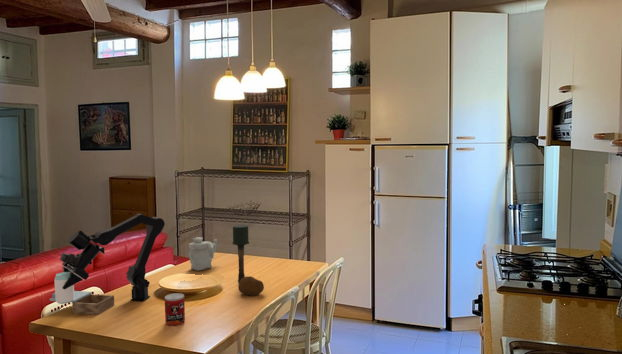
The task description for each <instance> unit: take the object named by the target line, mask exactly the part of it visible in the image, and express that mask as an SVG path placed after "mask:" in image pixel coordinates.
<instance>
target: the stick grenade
mask: <svg viewBox="0 0 622 354" xmlns="http://www.w3.org/2000/svg"><path fill="white" fill-rule="evenodd" d="M231 243H232V245H233V246H236V247H237V257H238V276H237V278H238V279H237V283H238V284H239V282H240V280H241V279H242V278H243V277H246V275H245V259H244V258H245V245H249V244H250V241H249V226H248V225H246V224H236V225H234V226H232V242H231Z"/></svg>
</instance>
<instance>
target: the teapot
mask: <svg viewBox="0 0 622 354" xmlns="http://www.w3.org/2000/svg"><path fill="white" fill-rule="evenodd" d="M203 239H204V238H203V236H202V237H199V236H196V237H195V238H194V237H193V238H192V241H193V242H191V243H188V248H189V251H188V258H189V262H190V268H191V270H193V269H194V271H199V272H200V271H204V270H207V269H211V268H212V267H213V266H212V261H213V259H214V254H215V253H216V251H217V247H218V239H217V238H215V239H213V242H212V241H203Z"/></svg>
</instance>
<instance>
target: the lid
mask: <svg viewBox="0 0 622 354" xmlns="http://www.w3.org/2000/svg"><path fill="white" fill-rule="evenodd" d="M90 294H93V291H81V290H74V297H75V299H74V300H73V301H72V302H71V303H73V302H76V301H78V300H80V299H82V298H84V297H86V296H88V295H90ZM49 301H50V302H56V297H55V292H52V294H51V298H49Z"/></svg>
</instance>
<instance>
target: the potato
mask: <svg viewBox="0 0 622 354" xmlns="http://www.w3.org/2000/svg"><path fill="white" fill-rule="evenodd" d="M264 289H265V285H264V283H263V281H262V280H259V279H257V278H255V277H253V276H250V275H249V276H245V277H243V278H242V279H241V280H240V282H239V283H238V292H240V293H241V294H243V295H246V296H249V297H250V296H251V297H252V296H257V295H260V294H261V293H262V292H263V291H264Z"/></svg>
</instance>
